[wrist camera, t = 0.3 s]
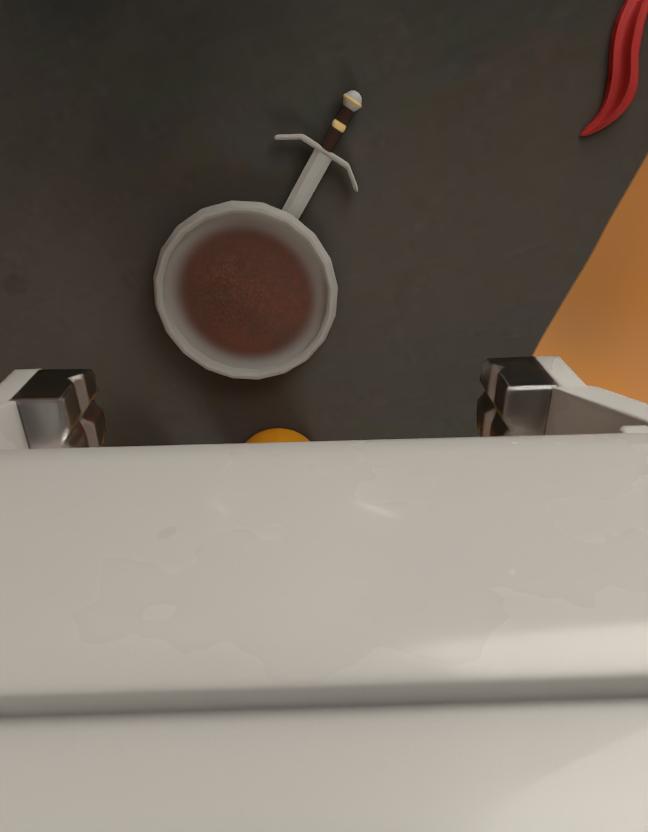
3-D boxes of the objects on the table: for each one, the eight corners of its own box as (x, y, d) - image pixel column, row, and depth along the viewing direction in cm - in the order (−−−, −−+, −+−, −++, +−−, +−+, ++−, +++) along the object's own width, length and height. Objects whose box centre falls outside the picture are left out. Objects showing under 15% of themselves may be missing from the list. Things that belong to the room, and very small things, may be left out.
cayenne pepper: (600, 147, 53) (610, 149, 51) (556, 123, 52) (564, 124, 50) (692, -6, 48) (706, -9, 46) (645, -35, 47) (657, -40, 45)
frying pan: (445, 151, 51) (281, 412, 61) (438, 148, 53) (282, 400, 64) (263, 26, 46) (121, 331, 57) (265, 30, 49) (129, 321, 60)
